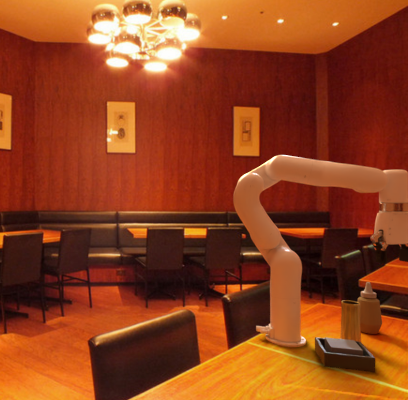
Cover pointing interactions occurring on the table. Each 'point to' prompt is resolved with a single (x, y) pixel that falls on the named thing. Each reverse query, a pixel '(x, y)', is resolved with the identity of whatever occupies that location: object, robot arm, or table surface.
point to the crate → (345, 358)
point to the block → (342, 346)
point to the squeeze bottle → (369, 311)
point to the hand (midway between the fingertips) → (393, 262)
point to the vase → (350, 320)
